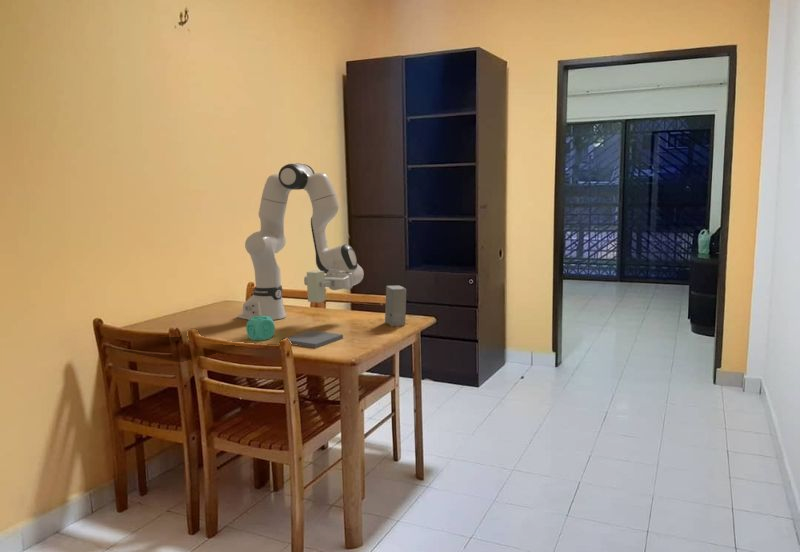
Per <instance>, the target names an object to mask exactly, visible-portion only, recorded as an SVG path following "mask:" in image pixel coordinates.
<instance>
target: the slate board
mask: <svg viewBox="0 0 800 552" xmlns="http://www.w3.org/2000/svg"><path fill="white" fill-rule="evenodd" d="M287 338H288V339H289V340H290V341H291V343H292V344H297V345H296V346H299V345H301V346H300V347H305V346H307V347H308V348H312V347H313V349H314V348H315V349H318V348H320V346H321V347H323V346H327V345H328V344H331V343H335V342H338V341H340V340H343V339H344V334H343V333H334V332H326V331H318V330H312V329H310V330H307V331H305V332H301V333H298V334H294V335H291V336H287ZM292 344H291V345H292Z"/></svg>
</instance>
